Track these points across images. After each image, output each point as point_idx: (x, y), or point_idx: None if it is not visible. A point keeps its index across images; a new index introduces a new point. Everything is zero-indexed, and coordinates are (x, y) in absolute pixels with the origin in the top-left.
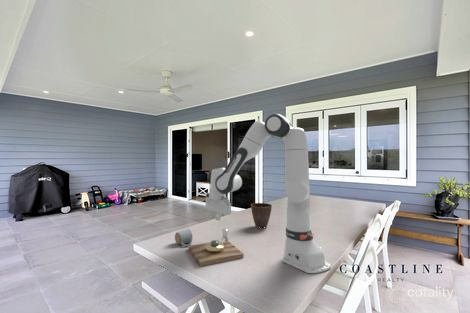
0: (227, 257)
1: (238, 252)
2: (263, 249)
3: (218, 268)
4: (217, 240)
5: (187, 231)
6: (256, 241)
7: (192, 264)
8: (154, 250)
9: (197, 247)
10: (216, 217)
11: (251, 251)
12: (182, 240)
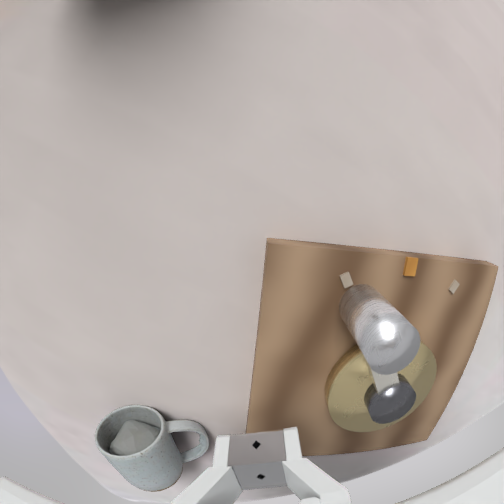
0: (471, 346)
1: (480, 282)
2: (466, 104)
3: (471, 382)
4: (381, 384)
5: (144, 467)
6: (348, 38)
7: None
8: None
9: None
10: (264, 482)
11: (462, 176)
12: (181, 463)
